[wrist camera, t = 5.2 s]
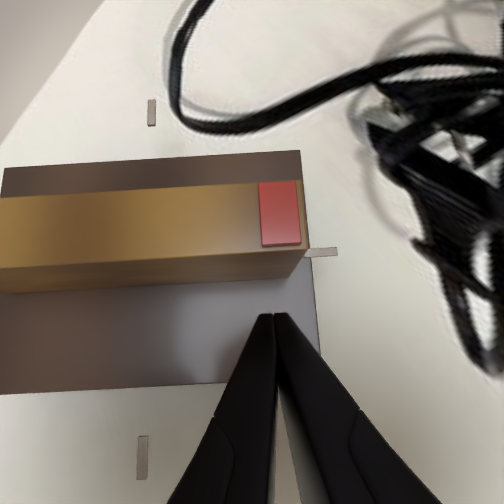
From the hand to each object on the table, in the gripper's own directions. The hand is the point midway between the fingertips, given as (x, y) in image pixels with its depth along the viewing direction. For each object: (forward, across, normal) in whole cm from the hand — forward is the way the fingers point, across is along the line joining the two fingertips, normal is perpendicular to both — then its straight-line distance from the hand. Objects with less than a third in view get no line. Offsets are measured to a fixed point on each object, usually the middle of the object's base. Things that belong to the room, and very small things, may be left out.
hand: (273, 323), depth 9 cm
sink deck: (+7, +5, +3) cm, 9 cm away
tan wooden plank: (+4, +5, 0) cm, 7 cm away
